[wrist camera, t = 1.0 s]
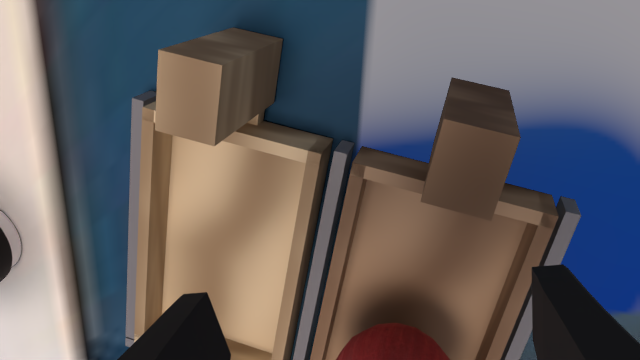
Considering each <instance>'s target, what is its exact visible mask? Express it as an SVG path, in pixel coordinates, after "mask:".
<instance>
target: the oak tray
mask: <svg viewBox="0 0 640 360" xmlns="http://www.w3.org/2000/svg"><path fill="white" fill-rule="evenodd" d="M282 42H283V39H281V38H277V37H272V36H268V35H264V34H259V33H255V32H251V31H246V30H242V29H238V28H230V29H226V30H223V31H220V32H216V33H213V34H210V35H206V36H203V37H200V38H196V39H193V40H190V41H186V42H183V43H180V44H176V45H173V46H170V47H166V48H163V49H160V50H158V71H157V93H156V101H155V102H152V103H150V104H148V105H146V106H144V107H142V131H141V159H140V188H139V216H138V245H137V273H136V302H135V330H134V342H136V341H137V340H138V339H139V338H140V337H141V336H142V335H143V334H144V333H145V331H146V330H147V329H148V328H149V327H150V326H151V325H152V324H153V323H154V322H155V321H156V320H157V319H158V318H159V317H160V316H161V315H162V314H163V313H164V312H165V311H166V310H167V309H168V308H169V307H170V306H171V305H172V304H173V303H174V302H175V301H176V300H177V299H178V298H179V297H180V296H182V295H183V294H190V293H202V292H207V293H208V296H209V298H210V301H211V303H212V306H213V309H214V311H215V314H216V316H217V319H218V322H219V324H220V327H221V329H222V332H223V335H224V337H225V340H226V342H227V345H228V348H229V350H230V353H231V359H230V360H290V358H291V353H292V348H293V343H294V337H295V332H296V327H297V322H298V317H299V312H300V307H301V301H302V296H303V291H304V286H305V281H306V276H307V271H308V266H309V260H310V255H311V250H312V245H313V240H314V235H315V230H316V224H317V219H318V214H319V209H320V204H321V199H322V194H323V189H324V183H325V178H326V173H327V168H328V163H329V158H330V153H331V147H332V142H333V139H332V138H328V137H324V136H320V135H316V134H312V133H309V132H305V131H301V130H297V129H293V128H289V127H285V126H281V125H278V124H274V123H270V122H266V121H263V119H264V111H265V109H266V108H268V107H269V106H270V105H272V104H273V103H274V99H275V91H276V84H277V77H278V70H279V63H280V56H281V49H282Z"/></svg>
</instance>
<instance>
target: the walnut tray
mask: <svg viewBox="0 0 640 360" xmlns="http://www.w3.org/2000/svg"><path fill="white" fill-rule="evenodd" d="M520 138H521V137H520V133H519V129H518V125H517V121H516V117H515V113H514V109H513V105H512V100H511V96H510V92H509V91H508V90H504V89H500V88H495V87H491V86H486V85H482V84H478V83H474V82H469V81H465V80H460V79H456V78H452V79H451V82H450V86H449V90H448V93H447V97H446V100H445V104H444V107H443V111H442V115H441V118H440V122H439V125H438V129H437V132H436V136H435V140H434V144H433V148H432V152H431V157H430V161H429V163H426V162H422V161H418V160H414V159H410V158H406V157H402V156H398V155H394V154H391V153H387V152H383V151H379V150H375V149H371V148H367V147H363V146H362V147H361V149H360V150H359V152H358V154H357V156H356V157H355V159H354V161H353V162H352V167H351V171H350V176H349V181H348V185H347V190H346V195H345V199H344V204H343V209H342V213H341V218H340V223H339V227H338V232H337V237H336V241H335V246H334V250H333V255H332V260H331V264H330V269H329V274H328V278H327V283H326V288H325V292H324V297H323V302H322V306H321V311H320V316H319V320H318V325H317V330H316V334H315V339H314V344H313V348H312V353H311V357H310V360H336V359H337V357H338V355H339V353H340V352H341V351H342V349H343V348H344V347H345V346H346V344H347V343H348V342H349V341H350V339H351V338H352V337H353V336H355V335H357V334H359V333H360V332H362V331H364V330H366V329H369V328H371V327H373V326H375V325H377V324H386V323H400V324H404V325H408V326H412V327H416V328H417V329H419V330H420V331H422V332H423V333H425V334H427V335H428V336H430V337H431V338H433V339H434V340H435V341H436V343H437V344H438V345H439V346H440V348H441V349H442V350H443V351H444V353H445V354H446V355H447V356H448V358H449V359H450V360H500V359H501V357H502V354H503V352H504V349H505V347H506V344H507V342H508V339H509V337H510V334H511V332H512V330H513V327H514V325H515V322H516V320H517V317H518V315H519V312H520V310H521V308H522V305H523V303H524V300H525V298H526V295H527V293H528V290H529V288H530V286H531V283H532V267H537V266H539V264H540V261H541V259H542V256H543V254H544V251H545V249H546V246H547V244H548V242H549V239H550V237H551V234H552V232H553V229H554V227H555V224H556V222H557V220H558V217H559V216H558V213H557V210H556V207H555V203H554V200H553V197H552V195H550V194H545V193H542V192H538V191H534V190H530V189H526V188H522V187H519V186H515V185H511V184H507V183H505V180H506V178H507V175H508V172H509V169H510V166H511V163H512V160H513V157H514V155H515V152H516V149H517V146H518V143H519V141H520Z"/></svg>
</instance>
